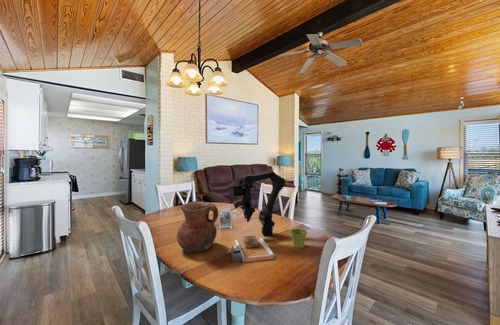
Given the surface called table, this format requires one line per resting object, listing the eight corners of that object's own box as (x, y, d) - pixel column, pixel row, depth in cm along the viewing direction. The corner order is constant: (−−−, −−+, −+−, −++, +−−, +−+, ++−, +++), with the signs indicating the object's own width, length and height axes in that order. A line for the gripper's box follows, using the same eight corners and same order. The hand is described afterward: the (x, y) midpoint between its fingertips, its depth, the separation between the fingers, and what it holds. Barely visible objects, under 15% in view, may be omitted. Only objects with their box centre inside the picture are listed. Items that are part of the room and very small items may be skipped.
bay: (261, 240, 132) (261, 237, 132) (274, 258, 110) (274, 254, 110) (235, 243, 129) (235, 239, 128) (242, 262, 106) (242, 258, 106)
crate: (254, 242, 130) (254, 235, 130) (257, 246, 124) (257, 239, 124) (243, 243, 128) (243, 236, 128) (245, 247, 122) (245, 240, 122)
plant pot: (297, 251, 119) (297, 235, 118) (286, 244, 127) (287, 230, 127) (310, 247, 123) (310, 232, 123) (299, 241, 131) (299, 227, 131)
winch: (240, 256, 112) (240, 243, 112) (242, 262, 107) (242, 248, 106) (226, 258, 110) (226, 245, 110) (228, 263, 105) (228, 250, 105)
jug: (178, 260, 109) (178, 210, 107) (175, 243, 128) (174, 201, 127) (221, 251, 117) (221, 206, 116) (212, 237, 137) (212, 198, 135)
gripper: (231, 193, 141) (231, 216, 142) (236, 199, 123) (236, 226, 123) (248, 192, 143) (248, 215, 144) (255, 198, 125) (255, 224, 126)
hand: (246, 220), depth 134 cm, fingers open, 7 cm apart
